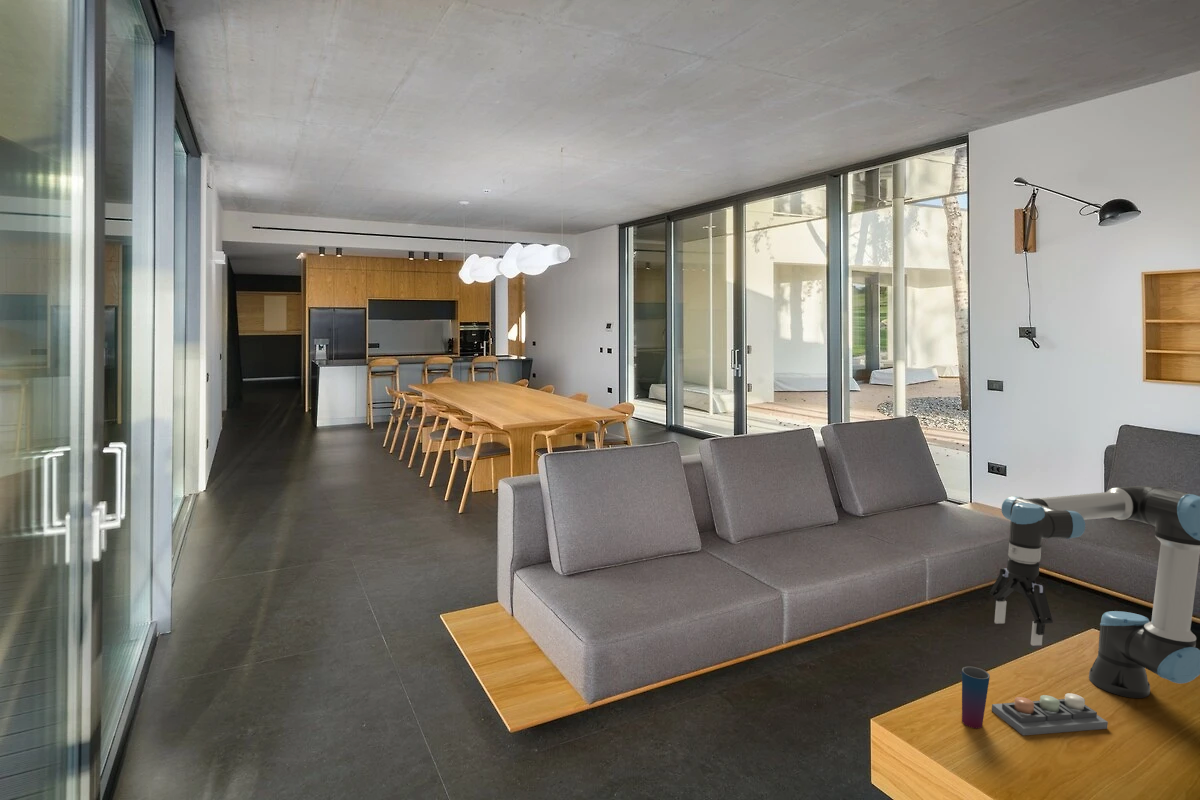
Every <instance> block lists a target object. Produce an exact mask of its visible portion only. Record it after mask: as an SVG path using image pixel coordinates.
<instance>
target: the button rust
mask: <svg viewBox="0 0 1200 800" xmlns="http://www.w3.org/2000/svg"><path fill="white" fill-rule="evenodd" d="M1033 701H1034V700H1033ZM1033 701H1032V700H1031V699H1029V698H1027V697H1023V696H1022V697H1021V696H1017V697H1015V698H1014V703H1015V704H1014V708H1015V709H1016V710H1017V711H1019V712H1021V713H1024V714H1032V713H1033V711H1034V702H1033Z"/></svg>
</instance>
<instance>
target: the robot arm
mask: <svg viewBox="0 0 1200 800" xmlns="http://www.w3.org/2000/svg"><path fill="white" fill-rule="evenodd" d="M1001 513H1002V515H1003V517H1004V518H1005V519H1007V520H1008V521H1010V526H1009V527H1010V528H1009V541H1008V551H1007V552H1008V553H1007V556H1008V558H1007V562H1006V568H1000V569H999V574H998V577H997V578H996V580H995V582H994V584H993V585H992V587H991V589H990V591H989V595H990V596H993V600H994V611H995V612H994V622H993V623H994V624H996V625H997V624H1005V623H1006V612H1007V602H1008V601H1006V600H1007V599H1006V598H1008V596H1010V595H1011V594H1012V593H1013V592H1018V593H1019V594H1020V595H1022V597H1023V598H1024V599H1025V600H1026V602H1027V604H1028V607H1029V610H1030V612H1031V614H1032V617H1033V618H1034V620H1033V621H1032V623H1031V624H1032V626H1031V637H1030V645H1031V646H1032V647H1033V646H1042V645H1043V636H1044V635H1045V631H1046V630H1045V629H1046V624H1047V625H1049V624H1053V621H1054V620H1053V618H1052V614H1051V610H1050V606H1049V602H1048V599H1047V594H1046V585H1044V584H1037V583H1036V578H1038V577H1039V574H1040V567H1041V566H1040V565H1041V564H1040V563H1039V562H1041V555H1042V554H1041V553H1042V543H1043V540H1048V539H1049V540H1054V539H1056V540H1059V539H1060V540H1061V539H1066V540H1070V539H1074V538H1081V537H1082V535H1083V534H1084V533H1085V531H1086V520H1087V521H1088V520H1096V519H1104V518H1105V519H1107V518H1108V519H1109V518H1113V519H1115V520H1119V521H1125V520H1127V521H1128V520H1131V521H1136V522H1140V523H1144V524H1147V525H1150V526H1153V527H1155V530H1154V531H1155V532H1154V537H1155V538H1156V539H1157V540H1158V541H1159V542H1160V547H1159V554H1158V561H1157V562H1158V564H1157V571H1156V580H1155V590H1154V595H1153V596H1154V597H1153V604H1152V613H1151V614H1152V615H1151V621H1150V619H1149V618H1148V617H1147V616H1144V615H1142V614H1137V613H1133V612H1130V611H1129V612H1127V611H1120V610H1119V611H1118V610H1114V611H1113V610H1112V611H1106V612H1104V613H1103V614H1102V616H1101V619H1100V623H1099V635H1098V636H1099V638H1098V648H1097V649H1098V651H1097V657H1096V658H1095V660H1094V662H1093V664H1092V666H1091V668H1090V669H1089V673H1088V679H1089V681H1090V682H1091V684H1093V685H1095V686H1096V687H1097V688H1099V689H1101V690H1104V691H1105V692H1108V693H1111V694H1113V695H1117V696H1121V697H1125V698H1129V699H1130V698H1131V699H1143V698H1147V697H1149V696H1150V692H1151V684H1150V682H1149V681H1148V680H1149V679H1148V675H1147V672H1146V671H1147V670H1148V671H1150V672H1152V673H1154V674H1156V675H1157V676H1159V678H1162V679H1164V680H1168V681H1170V682H1171V683H1175V684H1179V685H1180V684H1187V683H1190V682H1192V681H1194V680H1195V679H1196V678H1197V677H1199V676H1200V648H1197V647H1196V645H1197V636H1196V635H1195V634H1194V633H1193V632H1192V630H1191V627H1192V620H1193V619H1192V618H1193V610H1194V602H1195V593H1196V587H1197V578H1198V570H1199V562H1200V495H1197V494H1194V493H1188V492H1184V491H1179V490H1175V489H1170V488H1166V487H1163V486H1160V485H1159V486H1157V485H1135V486H1134V485H1133V486H1132V485H1131V486H1122V487H1121V486H1120V487H1111V488H1110V489H1108V490H1106V491H1103V492H1094V493H1091V492H1090V493H1081V494H1071V495H1059V496H1051V497H1049V496H1048V497H1040V498H1039V497H1035V498H1034V497H1033V498H1023V497H1021V496H1013V495H1012V496H1009V497H1007V498H1005V500H1003V502H1002V504H1001ZM1146 669H1147V670H1146Z"/></svg>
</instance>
